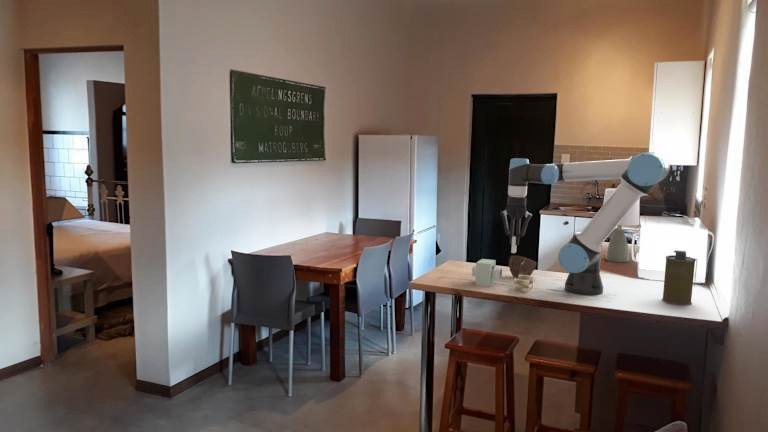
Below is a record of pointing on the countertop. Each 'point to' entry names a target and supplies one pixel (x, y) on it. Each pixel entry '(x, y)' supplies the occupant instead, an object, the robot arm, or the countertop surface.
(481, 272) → the pale green block
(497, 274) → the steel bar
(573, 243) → the robot arm
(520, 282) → the cradle
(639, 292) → the countertop surface
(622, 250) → the lamp
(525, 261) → the rock
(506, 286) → the countertop surface
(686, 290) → the canister
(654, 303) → the countertop surface
